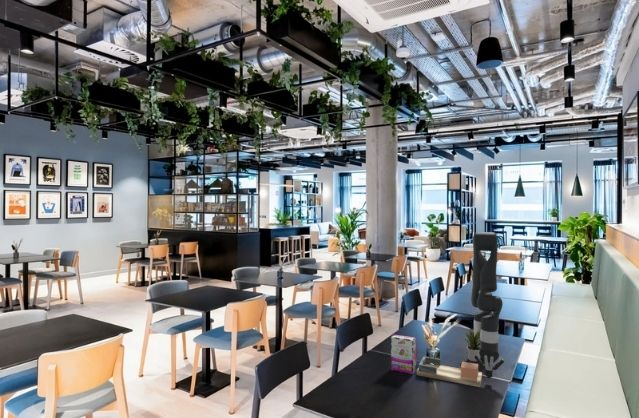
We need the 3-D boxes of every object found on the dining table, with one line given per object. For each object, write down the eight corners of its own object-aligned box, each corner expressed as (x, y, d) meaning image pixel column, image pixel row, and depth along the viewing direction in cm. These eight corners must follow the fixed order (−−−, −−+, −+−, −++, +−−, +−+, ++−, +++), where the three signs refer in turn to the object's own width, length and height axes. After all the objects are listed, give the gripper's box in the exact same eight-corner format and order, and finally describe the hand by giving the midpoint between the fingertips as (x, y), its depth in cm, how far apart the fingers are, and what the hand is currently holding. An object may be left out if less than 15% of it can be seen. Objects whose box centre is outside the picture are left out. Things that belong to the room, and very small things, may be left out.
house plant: (484, 368, 196) (484, 335, 195) (456, 361, 204) (456, 330, 204) (491, 359, 207) (492, 328, 207) (464, 353, 215) (465, 323, 215)
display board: (421, 365, 198) (421, 355, 198) (482, 376, 186) (482, 366, 186) (416, 374, 188) (416, 364, 188) (480, 387, 175) (480, 375, 175)
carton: (462, 371, 188) (462, 361, 188) (478, 373, 185) (478, 364, 185) (460, 376, 181) (460, 367, 181) (477, 379, 178) (477, 369, 178)
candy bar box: (415, 371, 192) (416, 337, 192) (413, 374, 188) (413, 340, 188) (393, 366, 197) (393, 333, 197) (390, 370, 193) (390, 336, 193)
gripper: (505, 339, 180) (505, 377, 180) (474, 335, 185) (473, 371, 186) (505, 344, 173) (504, 384, 173) (472, 340, 179) (472, 378, 179)
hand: (488, 377), depth 179 cm, fingers closed
